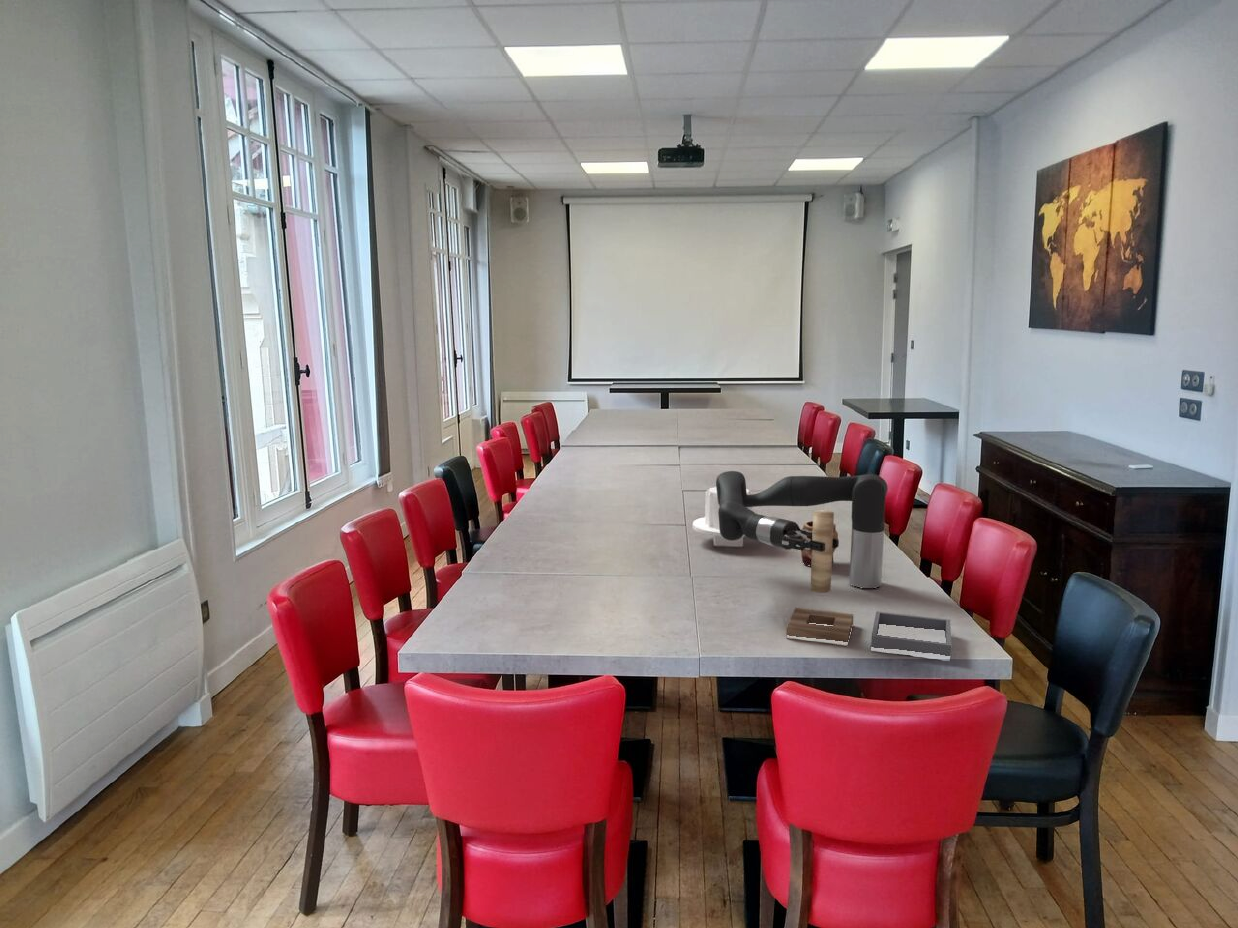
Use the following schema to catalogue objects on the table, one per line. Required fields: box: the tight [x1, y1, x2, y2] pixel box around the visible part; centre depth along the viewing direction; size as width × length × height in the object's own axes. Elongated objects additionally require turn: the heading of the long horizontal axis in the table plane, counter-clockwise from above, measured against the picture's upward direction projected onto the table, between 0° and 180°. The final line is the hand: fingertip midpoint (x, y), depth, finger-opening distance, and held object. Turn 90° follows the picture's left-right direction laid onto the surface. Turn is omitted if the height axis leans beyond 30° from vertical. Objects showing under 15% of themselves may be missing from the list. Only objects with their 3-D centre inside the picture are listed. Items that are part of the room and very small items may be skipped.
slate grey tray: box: [870, 610, 952, 657], centre depth 212 cm, size 18×18×4 cm
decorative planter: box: [800, 520, 839, 567], centre depth 275 cm, size 20×12×14 cm, turn 154°
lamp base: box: [692, 486, 754, 548], centre depth 301 cm, size 25×25×19 cm
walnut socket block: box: [786, 607, 855, 642], centre depth 219 cm, size 15×15×3 cm
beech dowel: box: [810, 509, 835, 594], centre depth 216 cm, size 5×5×20 cm
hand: (830, 545), depth 213 cm, fingers closed on beech dowel, 5 cm apart
